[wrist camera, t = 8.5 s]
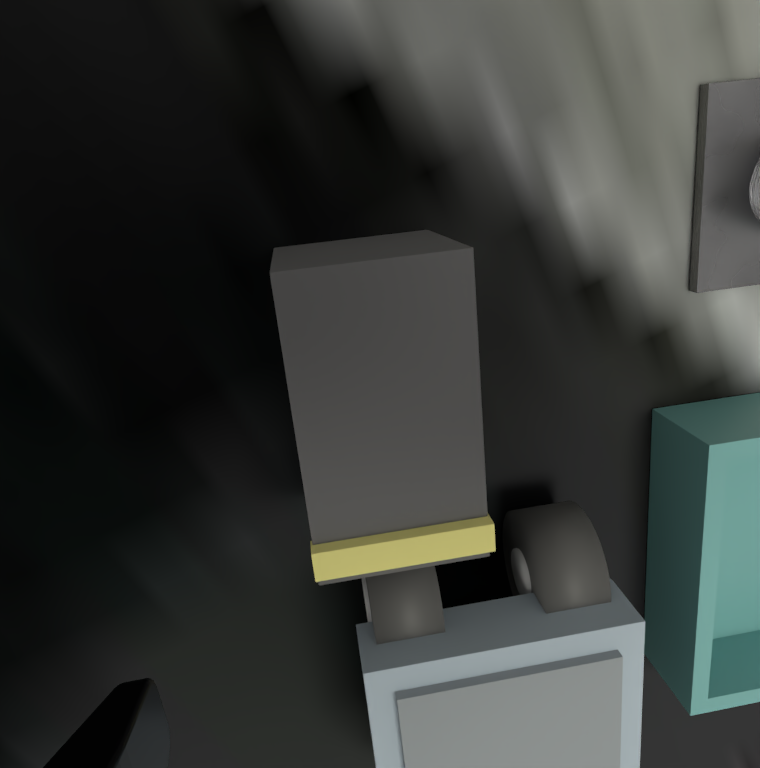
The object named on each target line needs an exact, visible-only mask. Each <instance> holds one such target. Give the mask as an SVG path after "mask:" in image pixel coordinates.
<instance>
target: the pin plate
mask: <svg viewBox="0 0 760 768" xmlns="http://www.w3.org/2000/svg"><path fill="white" fill-rule="evenodd" d="M759 158H760V78H758V79H748V80H738V81H728V82H718V83H709V84H704V85H700V104H699V122H698V140H697V159H696V177H695V195H694V213H693V232H692V250H691V268H690V287H689V291H693V292H696V293H698V292H705V291H713V290H720V289H728V288H735V287H742V286H750V285H757V284H760V222H759V221H758V219H757V218H756V216H755V214H754V213H753V210H752V208H751V204H750V197H749V187H750V180H751V176H752V173H753V170H754V168H755V166H756V163H757V161H758V160H759Z"/></svg>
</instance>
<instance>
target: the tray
mask: <svg viewBox="0 0 760 768" xmlns="http://www.w3.org/2000/svg"><path fill="white" fill-rule="evenodd" d="M644 620H645V643H644V654H645V655H646V657H647V658H648V659H649V661H650V662H651V663H652V665H653V666H654V668H655V669H656V670H657V672H658V673H659V674H660V676H661V677H662V678H663V680H664V681H665V682H666V684H667V685H668V686H669V688H670V689H671V690H672V692H673V693H674V694H675V696H676V697H677V698H678V700H679V701H680V702H681V704H682V705H683V706H684V708H685V709H686V711H687V712H688V713H689V715H690V716H692V715H697V714H702V713H707V712H711V711H716V710H721V709H726V708H731V707H736V706H741V705H746V704H751V703H756V702H760V392H759V393H753V394H746V395H740V396H733V397H726V398H720V399H713V400H707V401H700V402H694V403H687V404H681V405H674V406H668V407H661V408H654V409H652V433H651V459H650V486H649V512H648V538H647V564H646V591H645V617H644Z"/></svg>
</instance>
